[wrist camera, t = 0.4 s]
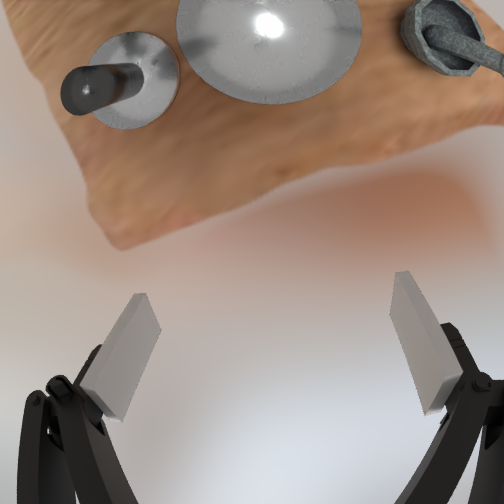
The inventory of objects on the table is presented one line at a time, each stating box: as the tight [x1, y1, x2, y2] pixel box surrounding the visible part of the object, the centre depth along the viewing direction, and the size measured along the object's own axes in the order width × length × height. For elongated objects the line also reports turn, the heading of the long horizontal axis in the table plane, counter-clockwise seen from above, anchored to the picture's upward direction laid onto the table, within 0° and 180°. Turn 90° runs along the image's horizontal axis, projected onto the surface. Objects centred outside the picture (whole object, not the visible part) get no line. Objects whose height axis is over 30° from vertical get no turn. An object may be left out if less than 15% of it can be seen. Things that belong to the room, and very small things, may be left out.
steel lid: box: [61, 32, 180, 130], centre depth 23 cm, size 12×12×12 cm
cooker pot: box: [176, 0, 362, 104], centre depth 22 cm, size 16×16×8 cm
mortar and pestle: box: [400, 0, 504, 77], centre depth 18 cm, size 11×9×12 cm
